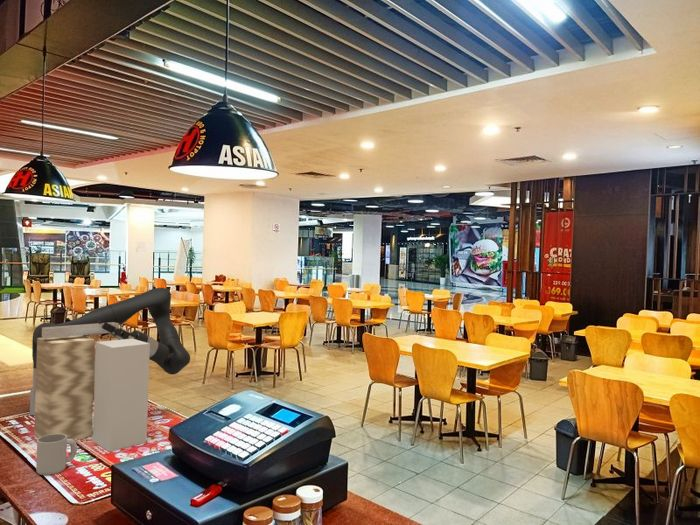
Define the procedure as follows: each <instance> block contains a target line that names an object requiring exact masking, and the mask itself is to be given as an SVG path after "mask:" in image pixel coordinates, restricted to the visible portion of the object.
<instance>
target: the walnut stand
mask: <svg viewBox="0 0 700 525" xmlns="http://www.w3.org/2000/svg"><path fill="white" fill-rule="evenodd" d="M95 345H96V340H95V339H94V338H91V337H88V336H82V335H81V336H70V337H59V338H48V339H46V338H37V361H36V394H35V415H34V429H33V430H34V431H33V432H34V435H33V436H35V437H36V438H37V437H38V438H40V437H42V436H45V435H50V434H64V435H66V436H67V439H73V440H74V441H76V440H75V439H78V440H83V439H86V437H87V438H91V437H93V416H94V398H93V384H94V353H95ZM38 438H37V439H38Z"/></svg>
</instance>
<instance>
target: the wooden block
mask: <svg viewBox="0 0 700 525" xmlns="http://www.w3.org/2000/svg"><path fill="white" fill-rule="evenodd" d="M103 324H104V323H96V324H83V325H69V326H56V327H42V337H43V338H46V339H48V338H59V337H70V336H81V335H88V336H92V335H101V334H109V333H111V332H109V331H107V330H105V329H103V328H102V326H103ZM108 324H110V325H112V326H114V327H118V328H120V325H119V323H115V322H110V323H108Z"/></svg>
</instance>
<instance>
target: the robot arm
mask: <svg viewBox="0 0 700 525" xmlns="http://www.w3.org/2000/svg"><path fill="white" fill-rule="evenodd" d="M171 302H172V294H171V291H170V290H169V288H165V287H155V288H152V289H149V290H147V291H144V292H142V293H139V294H137V295H135V296H132V297H129V298H126V299H123V300H120V301H118V302H114V303H111V304H106V305H103V306H101V307H97V308H95V309H92V310H91V311H89V312H87V313H85V314H83V315H82V316H80V317H77V318H75V319H73V320H68V321H65V322H61V323H53V322H43V323H40V324H39V325H37V326H36V327H35V328H34V331H33V333H32V344H31V346H32V348H31V349H32V353H31V355H32V367H33V368H32V370H33V371H32V388H31V389H30V392H29V393H30V394H29V416H35V394H36V361H37V338H43V337H42V327H56V326H69V325H83V324H96V323H104V324H103V326H102V328H103V329H105V330H107V331H109V332H111V333H108V334H109V335H110V336H111V337H113V338H115V339H116V340H123V339H136V340H139V341H143V342H146V343H149V344H150V355H149V361H152V362H154V363H156V364H157V365H158V366H159V367H160V368H161V369H162V370H163V371H164V372H165V373H167V374H168V375H177V374H178V373H179V372H181V371H182V370H183V369H184V368H185V367H187V366H188V365H189V364H190V362H191V355H190V353H189V351H188V350H187V349H186V348H185V346H184V345H183V343H182V342H181V338H180V336H179V332H178V330H177V328H176V326H175V325H174V324H173V323H172V320H171V314H170V309H171ZM145 309H147V310H148V312H149V314H150V317H151V318H152V320H153V322H154V324H155V326H156V329H157V332H158V333H157V334H158V336H159V339H160V342H159V341H158V340H156V339H154V337H152V336H150V335H148V334H146V333H144V332H142V331H140V330H132V331H130V330H126V329H124V328H120V327H119V328H118V327H114V326H112V325H110V324H108V323H110V322H115V323H119V326H121V325H123V324H124V323H126V322H127V321H128V320H129V319H131V318H133V316H134V315H136V314H137V313H139V312H141V311H142V310H145ZM82 336H85V337H88V336H89V335H82ZM169 354H170V355H169Z"/></svg>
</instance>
